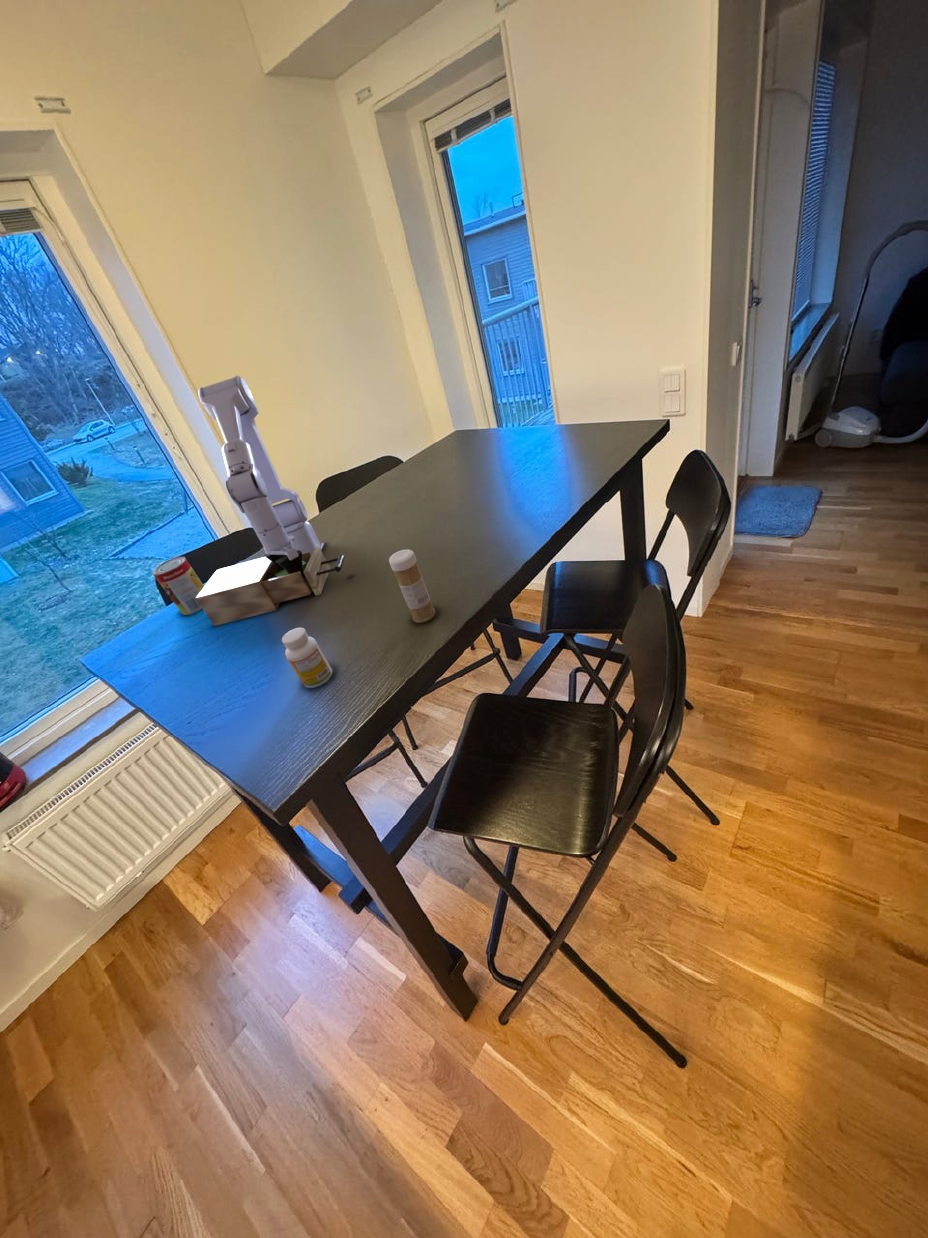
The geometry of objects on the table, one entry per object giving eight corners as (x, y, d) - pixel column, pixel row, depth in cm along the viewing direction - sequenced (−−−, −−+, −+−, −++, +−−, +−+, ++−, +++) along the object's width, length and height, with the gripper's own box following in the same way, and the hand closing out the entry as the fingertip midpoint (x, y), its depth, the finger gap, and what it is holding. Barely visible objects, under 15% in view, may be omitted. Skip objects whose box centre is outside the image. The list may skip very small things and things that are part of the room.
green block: (308, 574, 116) (300, 559, 113) (314, 577, 113) (306, 562, 111) (282, 589, 113) (274, 574, 110) (288, 593, 110) (279, 578, 108)
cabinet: (290, 581, 120) (275, 553, 115) (276, 610, 109) (259, 581, 105) (234, 596, 122) (216, 569, 117) (214, 626, 111) (194, 598, 106)
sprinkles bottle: (430, 606, 94) (408, 545, 86) (439, 616, 90) (417, 553, 82) (409, 616, 93) (384, 556, 85) (417, 627, 89) (393, 565, 81)
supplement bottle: (306, 671, 87) (281, 629, 81) (335, 663, 86) (311, 621, 81) (301, 692, 82) (273, 649, 77) (330, 684, 82) (305, 640, 77)
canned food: (206, 593, 127) (179, 554, 121) (216, 600, 122) (189, 560, 115) (177, 610, 124) (148, 570, 117) (186, 618, 118) (156, 577, 112)
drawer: (352, 563, 117) (342, 540, 113) (344, 588, 107) (333, 564, 104) (275, 583, 119) (263, 561, 116) (261, 609, 110) (247, 587, 106)
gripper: (297, 522, 101) (324, 577, 109) (271, 513, 111) (298, 563, 119) (267, 538, 98) (297, 593, 106) (243, 527, 108) (272, 578, 116)
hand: (296, 579), depth 112 cm, fingers open, 5 cm apart
